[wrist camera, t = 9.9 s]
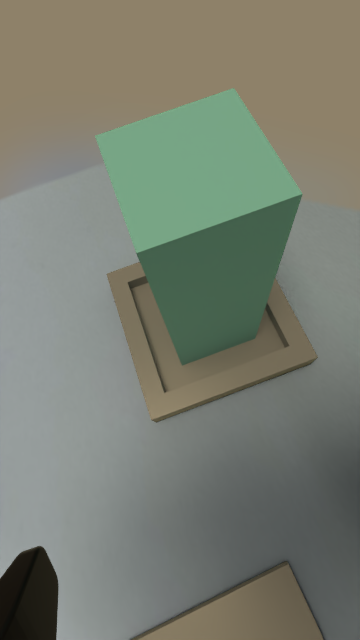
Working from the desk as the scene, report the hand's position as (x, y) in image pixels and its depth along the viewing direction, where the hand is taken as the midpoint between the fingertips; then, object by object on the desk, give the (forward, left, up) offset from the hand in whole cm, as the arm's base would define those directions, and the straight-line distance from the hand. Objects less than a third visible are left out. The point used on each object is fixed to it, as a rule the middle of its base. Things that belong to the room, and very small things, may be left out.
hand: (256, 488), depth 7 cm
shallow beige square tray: (+2, -9, -13) cm, 16 cm away
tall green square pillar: (+2, -9, -13) cm, 16 cm away
